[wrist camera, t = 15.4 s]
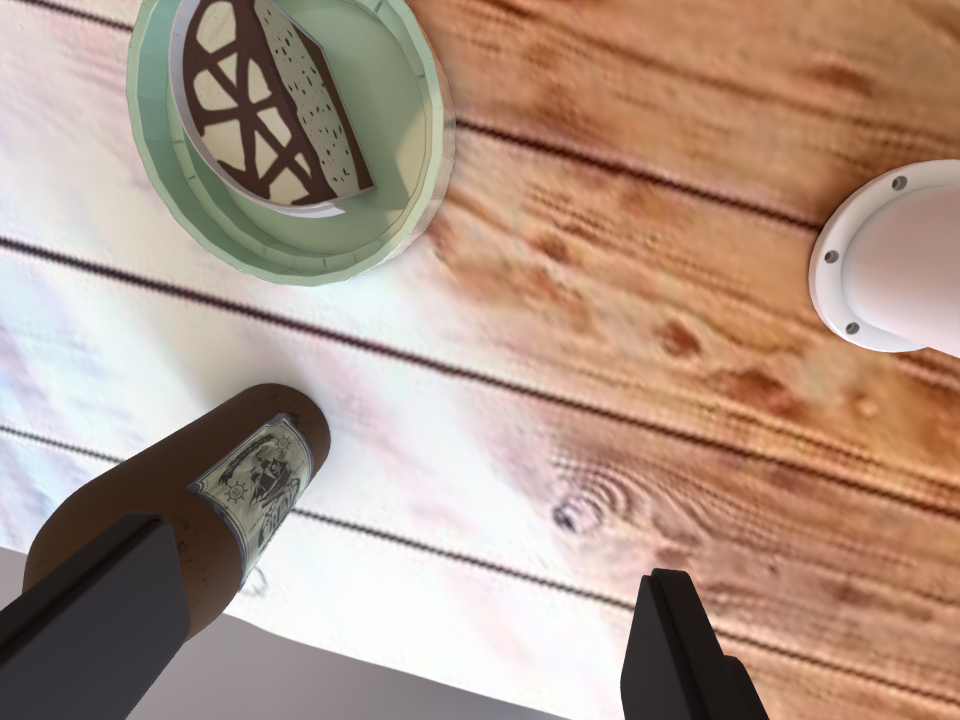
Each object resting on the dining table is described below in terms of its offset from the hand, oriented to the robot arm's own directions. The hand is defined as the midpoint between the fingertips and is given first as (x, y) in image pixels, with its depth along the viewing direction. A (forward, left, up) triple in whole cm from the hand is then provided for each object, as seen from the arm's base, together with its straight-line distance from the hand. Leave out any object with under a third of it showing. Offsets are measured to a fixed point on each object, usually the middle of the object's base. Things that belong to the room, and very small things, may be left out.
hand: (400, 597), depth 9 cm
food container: (+13, -11, -28) cm, 33 cm away
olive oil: (+18, +13, -28) cm, 36 cm away
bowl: (+13, -11, -28) cm, 33 cm away
